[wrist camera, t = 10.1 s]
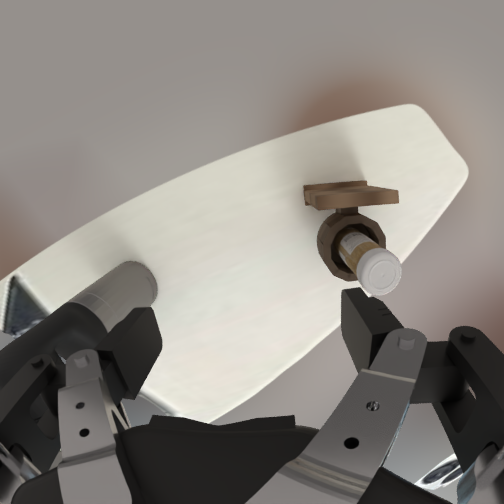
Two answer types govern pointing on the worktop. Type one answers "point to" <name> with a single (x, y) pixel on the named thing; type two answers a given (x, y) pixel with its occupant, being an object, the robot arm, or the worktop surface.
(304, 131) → the worktop surface
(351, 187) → the bracket
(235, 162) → the worktop surface
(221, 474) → the robot arm
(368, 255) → the sprinkles bottle
